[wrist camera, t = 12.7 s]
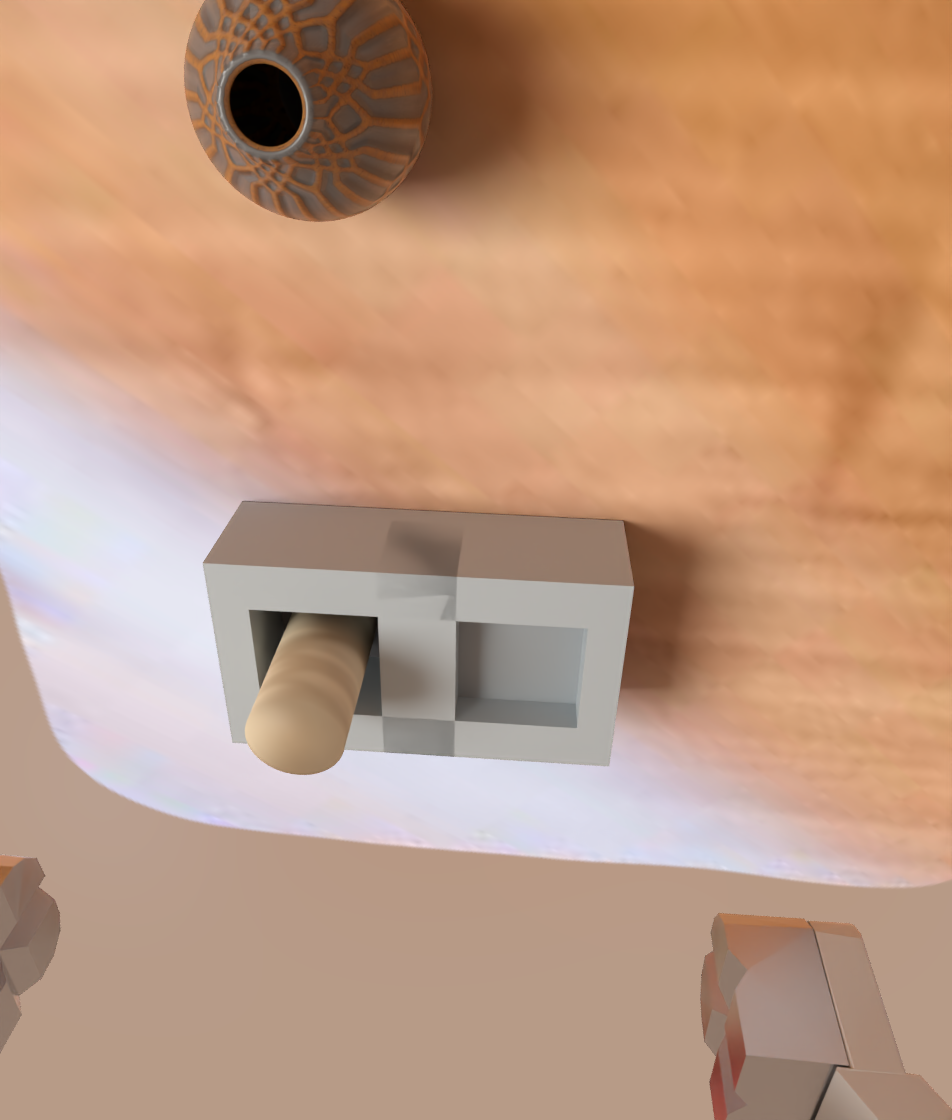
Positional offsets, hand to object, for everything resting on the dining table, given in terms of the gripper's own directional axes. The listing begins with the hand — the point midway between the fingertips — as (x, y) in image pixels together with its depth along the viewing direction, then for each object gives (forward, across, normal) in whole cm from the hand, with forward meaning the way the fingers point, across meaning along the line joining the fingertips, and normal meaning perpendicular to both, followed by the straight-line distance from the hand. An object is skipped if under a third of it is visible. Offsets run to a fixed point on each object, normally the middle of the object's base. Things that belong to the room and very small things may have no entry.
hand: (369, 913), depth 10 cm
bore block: (+25, +3, +13) cm, 28 cm away
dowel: (+24, +7, +13) cm, 28 cm away
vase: (+25, +6, -7) cm, 27 cm away
